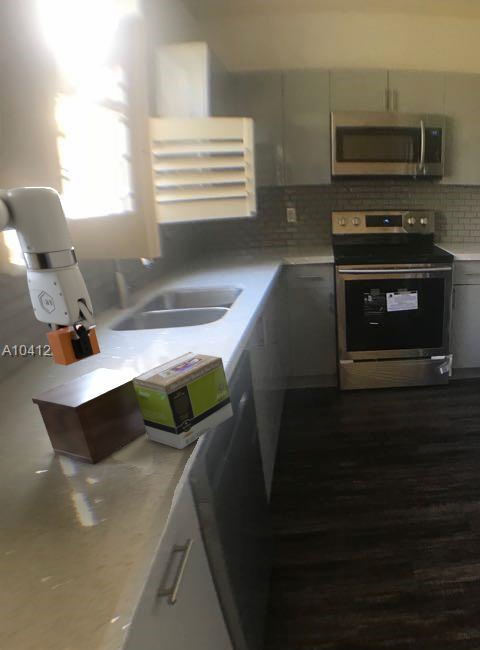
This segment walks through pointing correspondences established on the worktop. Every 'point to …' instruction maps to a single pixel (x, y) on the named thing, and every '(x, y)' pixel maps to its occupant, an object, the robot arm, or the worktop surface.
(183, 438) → the tea box
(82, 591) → the worktop surface
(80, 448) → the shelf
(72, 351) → the block
